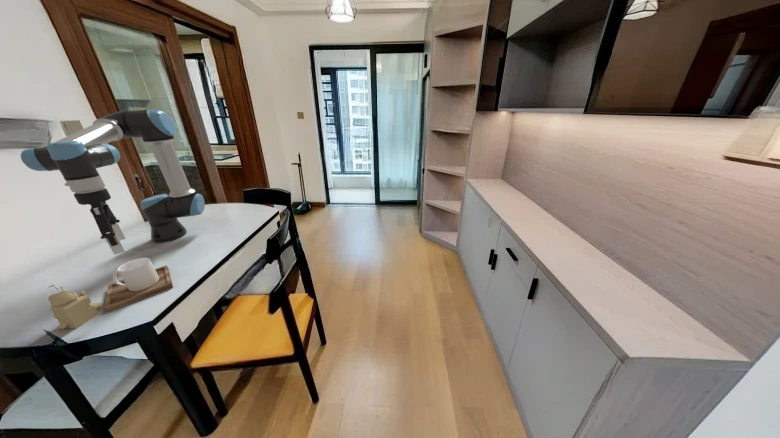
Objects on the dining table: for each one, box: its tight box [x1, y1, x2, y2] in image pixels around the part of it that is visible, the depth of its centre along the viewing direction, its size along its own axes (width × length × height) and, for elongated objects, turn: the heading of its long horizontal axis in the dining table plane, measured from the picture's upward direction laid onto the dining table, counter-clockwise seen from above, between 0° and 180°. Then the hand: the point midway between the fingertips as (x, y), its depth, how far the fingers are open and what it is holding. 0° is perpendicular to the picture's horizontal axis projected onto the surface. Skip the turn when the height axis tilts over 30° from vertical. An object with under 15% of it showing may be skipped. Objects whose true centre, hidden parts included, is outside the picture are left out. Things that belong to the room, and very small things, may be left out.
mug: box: [112, 257, 159, 291], centre depth 96 cm, size 12×9×9 cm
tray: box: [104, 265, 174, 313], centre depth 98 cm, size 18×18×2 cm
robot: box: [47, 284, 103, 332], centre depth 81 cm, size 10×8×15 cm
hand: (120, 246), depth 91 cm, fingers open, 13 cm apart
